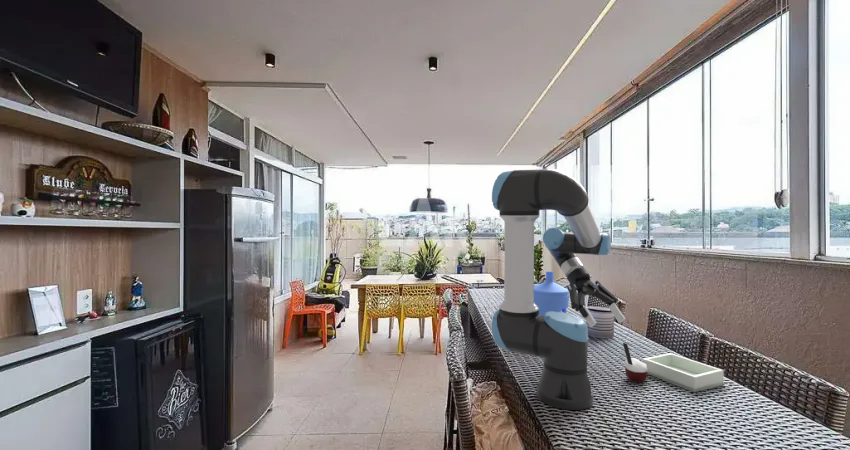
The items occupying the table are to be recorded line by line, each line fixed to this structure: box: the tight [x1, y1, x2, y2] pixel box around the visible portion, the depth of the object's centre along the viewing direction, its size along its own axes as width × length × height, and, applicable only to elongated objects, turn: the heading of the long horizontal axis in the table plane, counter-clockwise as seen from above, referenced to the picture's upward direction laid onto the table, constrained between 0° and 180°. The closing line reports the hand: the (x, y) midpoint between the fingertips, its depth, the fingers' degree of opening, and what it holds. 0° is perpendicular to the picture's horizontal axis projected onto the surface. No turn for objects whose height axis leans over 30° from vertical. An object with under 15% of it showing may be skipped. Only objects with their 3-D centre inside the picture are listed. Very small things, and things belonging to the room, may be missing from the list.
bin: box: [642, 352, 725, 393], centre depth 131 cm, size 14×17×4 cm
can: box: [585, 305, 615, 339], centre depth 179 cm, size 11×11×12 cm
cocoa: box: [622, 342, 648, 383], centre depth 129 cm, size 10×6×12 cm, turn 88°
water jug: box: [534, 271, 570, 316], centre depth 172 cm, size 16×16×28 cm
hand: (608, 323), depth 139 cm, fingers open, 13 cm apart
